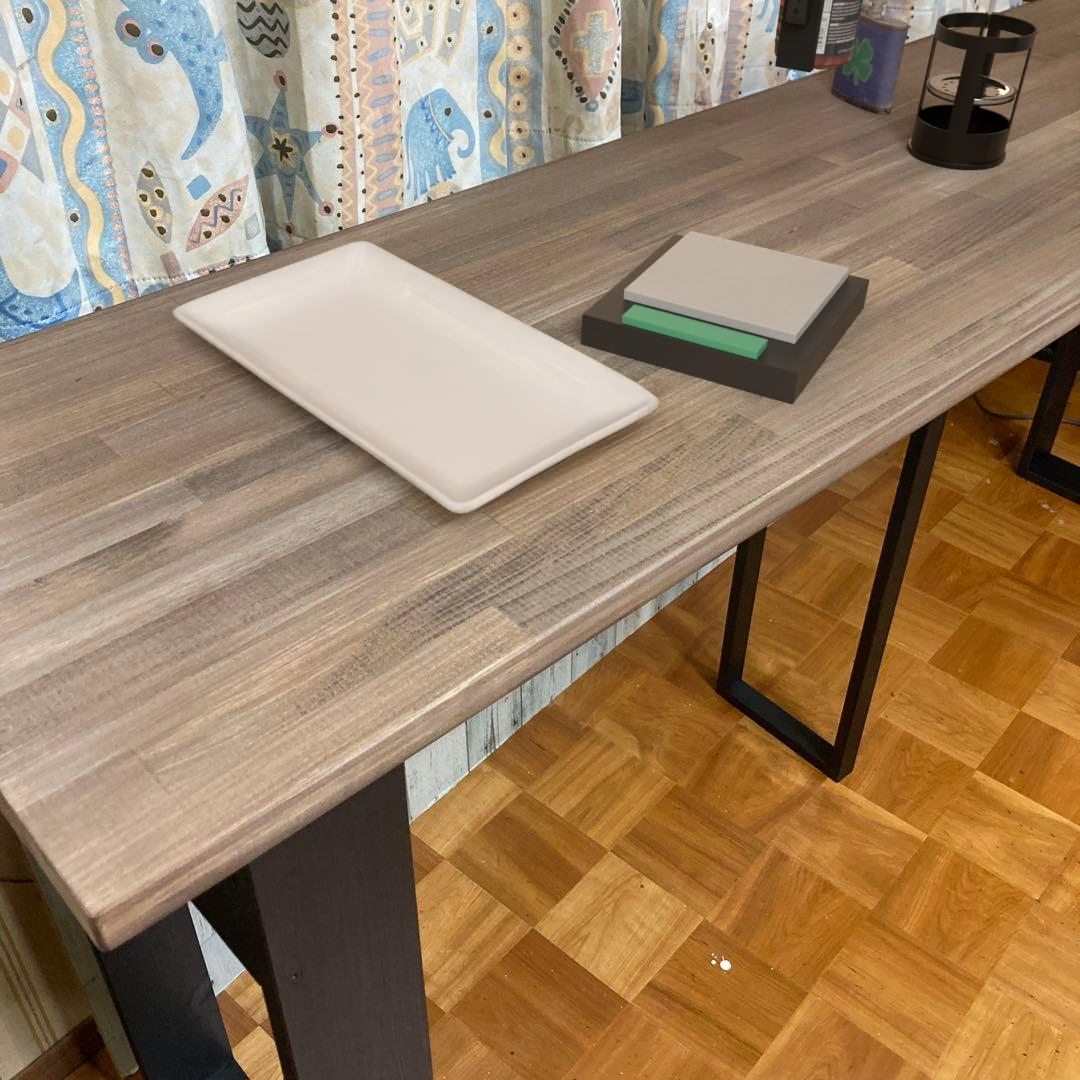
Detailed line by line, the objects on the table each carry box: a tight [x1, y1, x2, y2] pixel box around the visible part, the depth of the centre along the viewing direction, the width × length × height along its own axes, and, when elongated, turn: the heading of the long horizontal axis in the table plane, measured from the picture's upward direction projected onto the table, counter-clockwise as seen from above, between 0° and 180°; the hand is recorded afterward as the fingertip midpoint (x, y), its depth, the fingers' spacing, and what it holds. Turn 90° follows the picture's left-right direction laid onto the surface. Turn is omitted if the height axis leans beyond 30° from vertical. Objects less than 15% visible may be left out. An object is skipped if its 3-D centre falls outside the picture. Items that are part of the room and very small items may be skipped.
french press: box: [906, 0, 1038, 171], centre depth 105 cm, size 12×9×23 cm
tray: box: [172, 240, 661, 514], centre depth 74 cm, size 17×31×4 cm, turn 43°
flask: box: [830, 0, 910, 115], centre depth 121 cm, size 9×3×11 cm, turn 25°
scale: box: [580, 230, 870, 405], centre depth 82 cm, size 16×16×3 cm
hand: (810, 56), depth 85 cm, fingers closed on supplement bottle, 6 cm apart
